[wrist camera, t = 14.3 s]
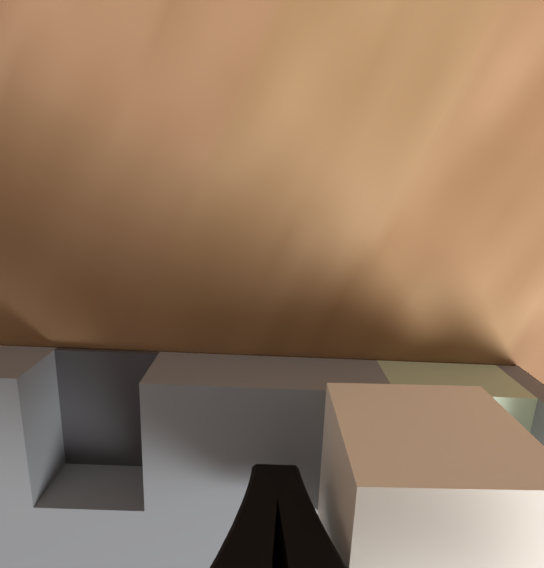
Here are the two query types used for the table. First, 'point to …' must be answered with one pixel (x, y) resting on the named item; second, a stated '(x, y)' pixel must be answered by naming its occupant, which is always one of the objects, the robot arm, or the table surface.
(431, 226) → the table surface
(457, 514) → the block
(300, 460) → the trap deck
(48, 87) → the table surface
